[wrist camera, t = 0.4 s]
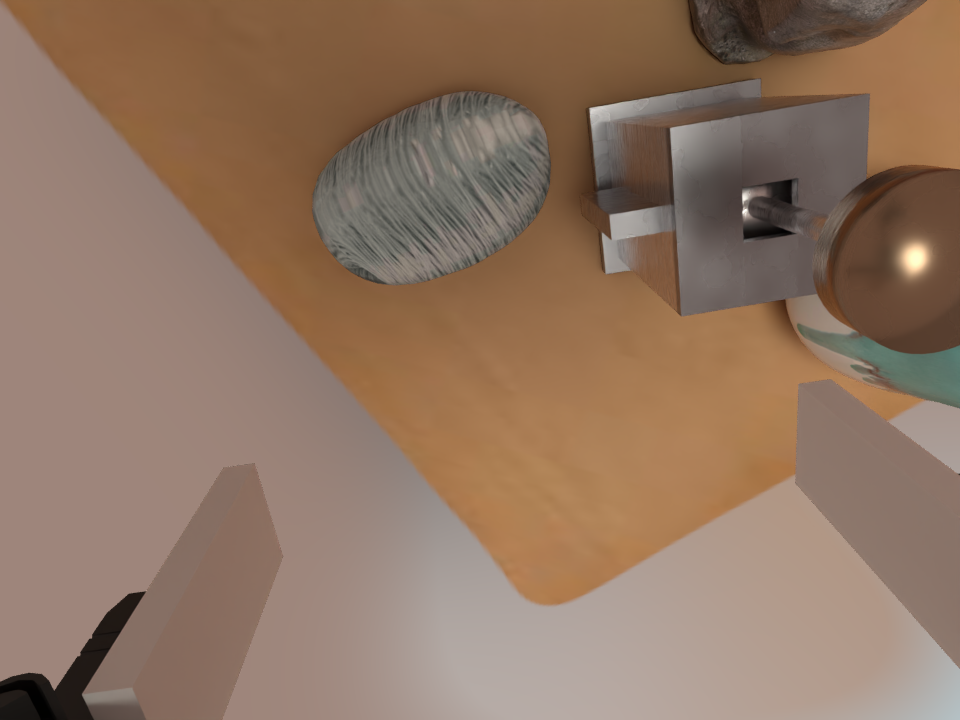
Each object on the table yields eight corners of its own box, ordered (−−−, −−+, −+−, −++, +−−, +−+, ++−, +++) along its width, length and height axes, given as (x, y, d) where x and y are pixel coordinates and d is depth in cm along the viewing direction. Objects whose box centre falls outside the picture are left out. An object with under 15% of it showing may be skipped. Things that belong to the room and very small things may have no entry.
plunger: (687, 152, 30) (843, 182, 18) (813, 130, 30) (1055, 146, 18) (693, 273, 32) (838, 374, 20) (811, 253, 32) (1029, 343, 20)
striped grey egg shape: (357, 331, 41) (339, 285, 31) (302, 193, 42) (269, 107, 33) (558, 256, 43) (600, 190, 33) (501, 126, 44) (526, 26, 35)
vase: (958, 303, 45) (1253, 418, 29) (795, 381, 47) (984, 533, 30) (911, 144, 42) (1220, 169, 25) (736, 234, 43) (914, 316, 26)
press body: (561, 112, 40) (610, 114, 27) (753, 79, 40) (893, 65, 27) (579, 274, 44) (630, 343, 31) (756, 244, 43) (881, 302, 31)
